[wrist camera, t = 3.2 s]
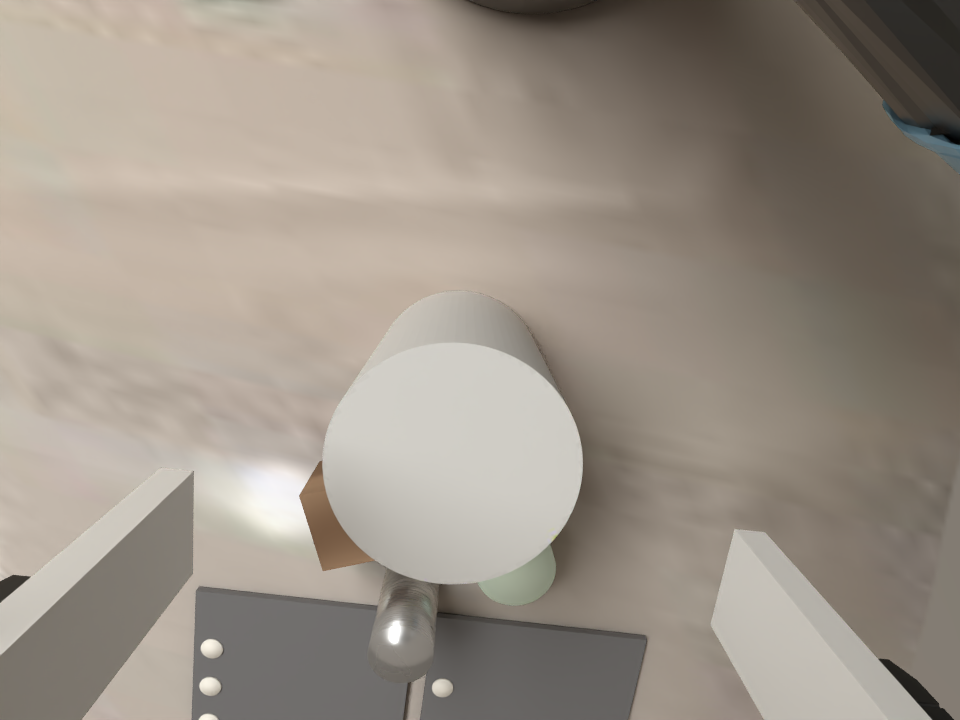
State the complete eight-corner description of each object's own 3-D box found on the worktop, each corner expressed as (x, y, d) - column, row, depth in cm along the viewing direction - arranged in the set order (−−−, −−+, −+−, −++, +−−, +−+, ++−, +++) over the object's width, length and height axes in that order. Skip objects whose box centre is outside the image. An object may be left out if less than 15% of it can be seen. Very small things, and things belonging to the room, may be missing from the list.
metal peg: (387, 550, 33) (370, 623, 27) (442, 556, 33) (437, 630, 27) (382, 598, 34) (364, 679, 28) (436, 604, 34) (429, 686, 28)
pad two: (435, 612, 34) (434, 618, 33) (644, 635, 35) (647, 641, 34) (411, 783, 37) (410, 791, 36) (605, 802, 37) (607, 810, 37)
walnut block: (319, 460, 32) (299, 495, 28) (394, 445, 32) (383, 478, 28) (340, 528, 33) (323, 571, 29) (412, 513, 33) (404, 554, 29)
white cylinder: (400, 460, 32) (360, 606, 20) (359, 310, 30) (290, 374, 18) (552, 428, 31) (602, 556, 20) (521, 274, 30) (556, 316, 18)
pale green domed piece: (474, 504, 32) (476, 532, 30) (549, 505, 33) (558, 532, 30) (472, 572, 33) (474, 605, 30) (545, 573, 33) (553, 605, 31)
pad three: (199, 586, 33) (195, 592, 33) (417, 610, 34) (416, 616, 33) (193, 763, 36) (189, 770, 36) (394, 782, 37) (393, 789, 36)
